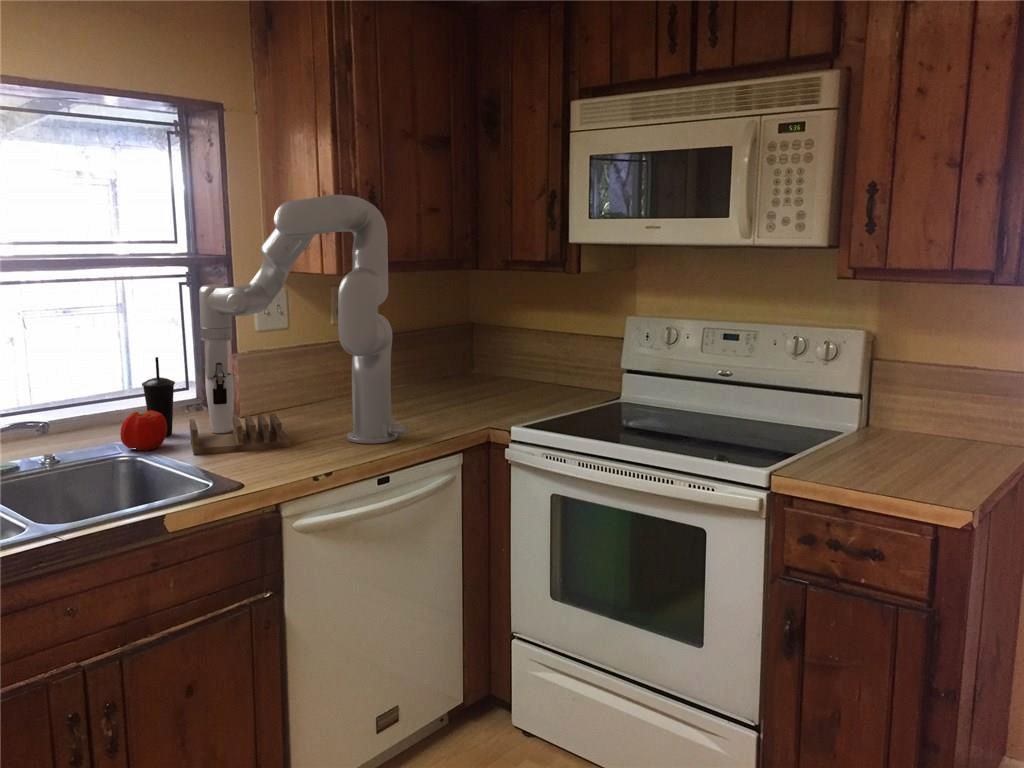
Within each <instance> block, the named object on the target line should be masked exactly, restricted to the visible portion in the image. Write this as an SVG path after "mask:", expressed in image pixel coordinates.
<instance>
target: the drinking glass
mask: <svg viewBox="0 0 1024 768" xmlns="http://www.w3.org/2000/svg"><path fill="white" fill-rule="evenodd" d="M204 375H205V374H204ZM204 379H205V380H204V381H205V393H206V395H205V396H206V400H207V408H208V414H209V422H210V429H211V430H210V431H211V432H212V434H217V435H223V434H228V433H231V432H233V422H232V416H234V415H233V414H234V413H233V412H234V392H235V391H234V389H235V387H234V375H233V373H231V372H228V376H227V379H225V384H226V390H227V403H226V404H216V405H215V404H214V403H213V389H214V382H213V378H210V380H208V379H207V377H206V375H205V378H204Z"/></svg>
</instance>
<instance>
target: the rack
mask: <svg viewBox="0 0 1024 768" xmlns="http://www.w3.org/2000/svg"><path fill="white" fill-rule="evenodd" d="M232 422H233V430H232V433H229V434H228V433H225V434H217V435H202V436H199V429H198V426H197V422H196V419H195V418H190V419H189V430H190V431H189V432H190V433H189V434H190V445H192V446H191V449H192V453H193V456H196V455H195V454H202V455H209V454H208V453H213V454H222V453H221V452H225V453H235V452H234V451H236V452H245V451H246V452H247V451H255V450H256V451H257V450H268V449H278V448H290V447H291V440H290V438H289V437H288V435H287V434H286V432H285V431H284V429H283V428H282V427H283V425H282V422H281V420H280V419H279V417H278V415H276V413H274V412H272V413H269V422H268V421H267V419H266V417H265V416H264V415H263V413H260V414H259V413H258V414H257V425H256V423H255V421H254V419H253V418H252V416H251V415H250V414H245V415H244V426H245V427H243V424H242V423H241V420H240V418H239V417H238V415H233V416H232ZM256 426H257V427H256ZM243 428H245V432H243V431H244V429H243ZM256 428H257V429H256Z"/></svg>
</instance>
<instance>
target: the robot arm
mask: <svg viewBox="0 0 1024 768" xmlns="http://www.w3.org/2000/svg"><path fill="white" fill-rule="evenodd" d="M273 222H274V227H275V228H274V229H273V230H272V231H271V233H270V235H269V236H268V237H267V239H265V241H264V243H263V244H262V245H261V248H260V250H261V253H262V257H263V259H262V260H263V261H262V264H261V266H260V268H259V270H257V273H256V274H255V276H254V277H253V278H252V279H251V281H250V282H249V283H248V284H243V285H236V286H228V285H225V284H204V285H202V286H201V287H200V288H199V291H198V292H199V294H198V295H199V296H198V297H199V298H198V299H199V321H200V322H199V324H200V330H199V331H200V341H204V369H205V370H204V371H205V372H204V373H205V374H204V375H206V377H207V379H208V380H210V378H213V382H214V389H213V403H214V404H215V405H216V404H226V403H227V390H226V384H225V379H227V376H228V373H229V372H228V371H229V357H228V356H229V351H228V350H229V349H228V342H229V341H233V327H232V326H233V323H232V321H233V320H232V318H233V317H245V316H250V315H255V314H258V313H261V312H263V311H264V310H266V309H267V308H268V307H269V306H270V304H271V303H272V302H273V301H274V299H275V298H276V297H277V296H278V294H279V293H280V292H281V290H282V289H283V288H284V286H285V284H286V281H287V279H288V276H289V274H290V272H291V268H292V267H293V265H294V264H295V263H296V262H297V260H298V259H299V258H300V256H301V255H302V253H303V252H304V251H305V249H306V248H307V247H308V246H309V244H310V243H311V241H312V240H313V239H314V237H316V236H317V235H324V234H329V233H330V234H331V233H337V232H343V233H344V232H351V233H352V235H353V244H352V253H351V254H352V255H351V258H352V268H351V271H350V272H348V273H347V274H346V275H344V276H343V278H342V279H341V281H340V283H339V287H338V291H337V292H338V293H337V309H338V311H337V315H338V316H337V317H338V318H337V322H338V324H337V325H338V327H337V329H338V330H337V331H338V338H339V343H340V345H341V347H342V348H343V349H344V351H345V352H346V353H347V354H349V355H352V356H351V358H352V359H351V394H352V395H351V398H352V401H351V402H352V430H351V431H349V432H347V434H346V439H347V440H348V441H350V442H352V443H355V444H363V445H364V444H368V445H369V444H371V445H373V444H383V443H384V444H385V443H389V442H392V441H395V440H397V439H398V437H399V436H398V435H407V427H406V425H402V424H399V425H397V424H396V419H392V395H391V393H392V392H391V391H392V389H391V388H392V385H391V378H392V377H391V376H392V375H391V372H392V371H391V370H392V369H391V367H392V365H391V364H392V363H391V359H392V357H391V356H392V347H393V346H392V345H393V329H392V326H391V324H390V322H389V319H387V318H386V317H385V316H384V315H383V314H380V313H379V312H378V311H379V310H378V307H379V306H380V305H382V304H383V303H384V302H386V299H387V298H388V294H389V256H388V255H389V254H388V253H389V252H388V249H389V248H388V240H389V239H388V236H389V235H388V229H387V228H388V227H387V223H386V220H385V218H384V216H383V214H382V212H381V211H380V210H379V209H378V208H377V207H376V206H375V205H374V204H372V203H371V202H369V201H367V200H365V199H364V198H361V197H358V196H354V195H345V194H327V195H323V196H317V197H310V198H309V197H308V198H303V199H296V200H295V199H294V200H288V201H285V202H283V203H282V204H280V205H279V206H278V208H276V210H275V213H274V216H273ZM232 316H233V317H232Z"/></svg>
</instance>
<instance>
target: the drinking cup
mask: <svg viewBox="0 0 1024 768" xmlns="http://www.w3.org/2000/svg"><path fill="white" fill-rule="evenodd" d="M155 371H156V372H155V374H156V377H153V378H149V379H148V380H146V381H143V382H142V383H141V386H142V387H143V393H144V400H145V404H146V405H145V406H146V410H147V411H151V410H153V411H156V412H159V413H161V414H162V415H163V416H164V417H165V419H166V422H167V435H166V438H169V437H171V436H172V435H173V418H174V416H173V415H174V414H173V413H174V393H175V391H174V387H175V384H176V382H175V380H171V379H169V378H166V377H160V365H159V357H158V356H157V357H155ZM147 411H146V412H147Z"/></svg>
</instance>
